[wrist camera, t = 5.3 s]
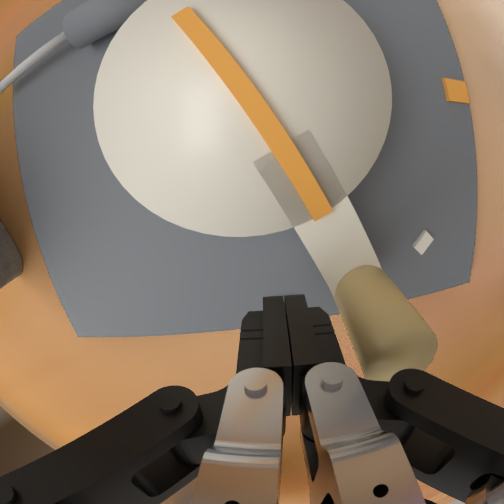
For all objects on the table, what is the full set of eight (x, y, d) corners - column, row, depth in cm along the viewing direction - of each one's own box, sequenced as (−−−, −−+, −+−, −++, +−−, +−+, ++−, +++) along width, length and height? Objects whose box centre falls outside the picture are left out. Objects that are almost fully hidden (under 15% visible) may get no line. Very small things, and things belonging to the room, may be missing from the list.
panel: (460, 274, 16) (471, 283, 14) (85, 328, 19) (76, 339, 17) (399, -47, 7) (407, -56, 6) (25, 38, 10) (14, 35, 9)
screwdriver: (171, -38, 7) (163, -31, 6) (184, -2, 10) (180, 12, 9) (-5, 69, 8) (-23, 94, 8) (14, 89, 11) (-1, 115, 10)
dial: (86, 85, 10) (-11, 67, 4) (277, -35, 8) (281, -120, 1) (262, 337, 15) (259, 442, 9) (443, 232, 13) (527, 289, 6)
